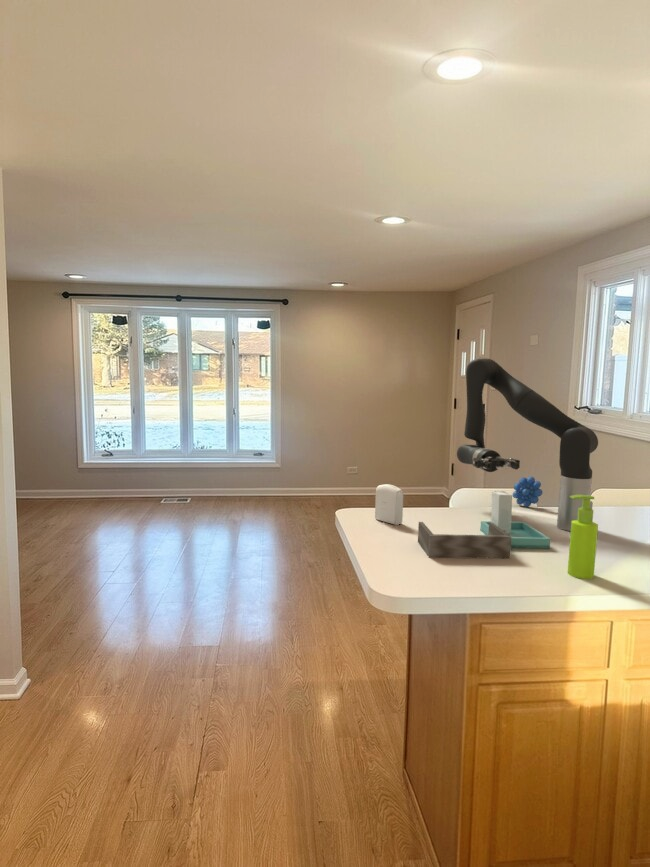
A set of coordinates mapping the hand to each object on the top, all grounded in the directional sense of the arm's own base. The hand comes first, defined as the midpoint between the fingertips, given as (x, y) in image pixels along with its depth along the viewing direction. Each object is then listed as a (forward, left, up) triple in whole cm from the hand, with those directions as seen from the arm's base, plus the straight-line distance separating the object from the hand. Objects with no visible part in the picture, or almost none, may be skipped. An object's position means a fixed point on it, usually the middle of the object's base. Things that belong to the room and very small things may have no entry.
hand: (504, 466), depth 170 cm
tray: (0, +11, -20) cm, 23 cm away
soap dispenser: (-5, +40, -21) cm, 45 cm away
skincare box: (+2, +6, -20) cm, 21 cm away
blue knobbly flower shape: (-23, -32, -21) cm, 44 cm away
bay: (+19, +22, -20) cm, 36 cm away
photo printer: (+35, -7, -21) cm, 41 cm away
